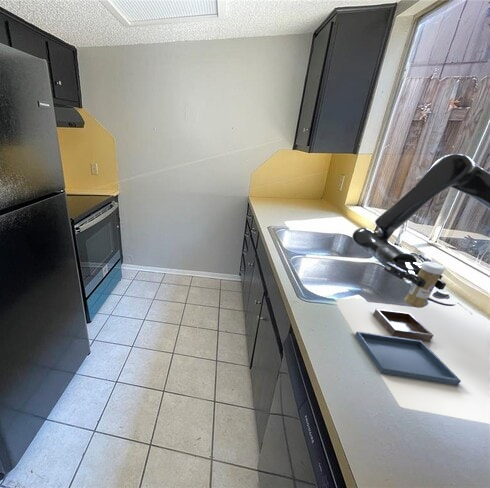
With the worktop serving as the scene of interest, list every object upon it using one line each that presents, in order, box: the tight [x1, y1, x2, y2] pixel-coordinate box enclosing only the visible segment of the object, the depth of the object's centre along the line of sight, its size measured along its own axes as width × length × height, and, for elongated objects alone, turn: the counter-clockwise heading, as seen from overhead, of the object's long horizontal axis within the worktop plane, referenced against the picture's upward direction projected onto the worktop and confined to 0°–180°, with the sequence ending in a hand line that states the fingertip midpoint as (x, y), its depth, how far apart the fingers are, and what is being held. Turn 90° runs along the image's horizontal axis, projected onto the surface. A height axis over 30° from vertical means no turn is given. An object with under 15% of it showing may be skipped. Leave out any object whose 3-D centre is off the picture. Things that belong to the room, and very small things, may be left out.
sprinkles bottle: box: [403, 260, 446, 309], centre depth 75 cm, size 5×5×13 cm
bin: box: [372, 308, 434, 343], centre depth 81 cm, size 10×10×3 cm
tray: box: [354, 331, 462, 386], centre depth 70 cm, size 17×13×2 cm
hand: (432, 285), depth 72 cm, fingers closed on sprinkles bottle, 4 cm apart
